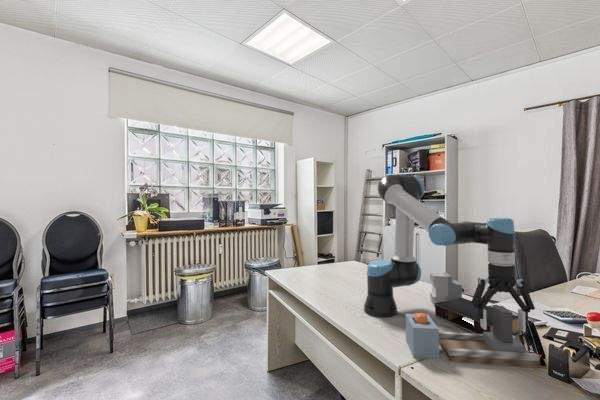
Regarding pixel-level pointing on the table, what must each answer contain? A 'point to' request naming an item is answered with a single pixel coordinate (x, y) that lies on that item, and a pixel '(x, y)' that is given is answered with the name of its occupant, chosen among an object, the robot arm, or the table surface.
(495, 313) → the carriage
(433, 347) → the end cabinet
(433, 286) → the circuit breaker
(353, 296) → the table surface
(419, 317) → the button
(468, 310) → the book
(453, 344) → the rail board
